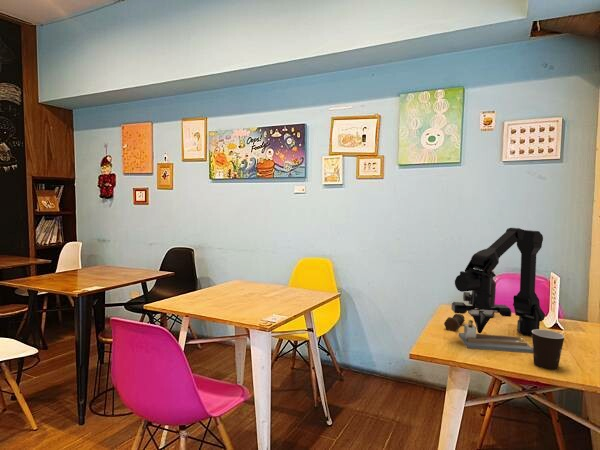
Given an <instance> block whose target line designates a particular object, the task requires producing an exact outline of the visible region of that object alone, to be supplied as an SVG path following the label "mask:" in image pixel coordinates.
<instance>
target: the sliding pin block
mask: <svg viewBox="0 0 600 450" xmlns="http://www.w3.org/2000/svg"><path fill="white" fill-rule="evenodd" d="M473 322H474V320H471V319H469V320H468V323H467V324H464V326H463V328H464V329H463V333H464V337H465V338H466V340H468V338H472V339H476V334H477V328H476V325H474V324H473Z"/></svg>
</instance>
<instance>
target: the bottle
mask: <svg viewBox="0 0 600 450" xmlns="http://www.w3.org/2000/svg"><path fill="white" fill-rule="evenodd" d="M482 271H483V270H482ZM492 272H493V273H494V274H495V271H494V270H493V271H492ZM496 286H497V283H496V281H495V280H494V277H491V297H490V306H491V307H494V306H495V304H496V290H497V289H496ZM479 315H480V312H479ZM492 315H493V316H494V317H495V313H494V312H493V314H492Z"/></svg>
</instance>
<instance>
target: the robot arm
mask: <svg viewBox="0 0 600 450" xmlns="http://www.w3.org/2000/svg"><path fill="white" fill-rule="evenodd" d="M543 241H544V235H543V234H542V233H541V231H540V230H539V231H538V230H531V229H530V230H529V229H522V228H519V227H509V228H506V231H505V232H504V233H503V234H502V235H501V236H499V237H498V238H497V239H496V240H495V241H494V242H493V243H492V244H491V245H489V246H488V247H487V248H484V249H481V250H479V251H477V252H476V253H474V254H473V255H472V256H471V258H470V260H469V262H468V264H467V265H466V267H465V269H464V271H463V270H462V271H460V272H459V275H457V276H456V277H455V279H454V285H455V286H454V287H455V288H456V290H458V291H459V292H461V293H463V295H462V299H463V301H464V302H468V305H467V304H465V303H464V302H462V301H461V302H459V301H453V302H452V303H451V310H452V312H453V313H455V314H461V315H464V314H466V313H468V314H469V316H470V317H472V318H473V322H474V324H475V327H476V332H477V334H482V332H483V330H484V329H485V327H486V325H487V323H488V322H489V321H490V320H491V319H493V318H495V315H494V316H493V315H492V314H493V312H494V314H495V313H497V314H499V315H500V316H501V317H508V318H509V317H512V309H511V308H510V307H509V306H507V305H506V304H498V303H497V304H496V303H495V306H494V307H491V306H490V297H491V277H493V278H495V277H497V275H496V274H495V272H494V273H493V272H492V271H494V270H495V268H496V267H497V266H498V264H499V262H500V261H499V260H500V258H501V257H502V256H503V255H504V254H505V253H507V251H508V250H509V249H510V248H512V247H513V246H514V245H515V244H516V246H517V249H518V251H519V252H520V277H519V280H520V281H519V291H518V293H516V294H514V295H513V297H512V298H513V303H512V307H513V309H514V310H513V311H514V314H515V316H517V317H518V320H517V322H516V323H517V326H516V327H517V328H516V331H517V332H518V333H520V334H521V336H525V337H526V336H527V337H528V336H530V337H532V330H536V329H540V326H541V325H540V322H543V321H544V320H545V317H546V313H545V312H544V311H543V309H542V308H541V304H540V299H539V297H538V295H537V293H536V276H537V275H536V271H537V254H538V253H539V251H540V250H541V249H542V247H543V246H542V245H543ZM482 270H483V271H482ZM479 312H480V315H479Z"/></svg>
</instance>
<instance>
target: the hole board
mask: <svg viewBox="0 0 600 450" xmlns="http://www.w3.org/2000/svg"><path fill="white" fill-rule="evenodd" d="M458 337H459V338H460V340H461V341H462V343H463V344H464V345H465V347H466V348H467V349H473V350H484V351H485V350H486V351H489V350H490V351H502V352H511V353H512V352H513V353H514V352H515V353H525V354H526V353H527V354H529V353H530V354H533V346H532V347H531V345H529V344H528V342H526V341H525V342H519V337H520V336H515V335H499V334H488V333H487V334H484V333H476V339H472V338H468V340H466V338H465V337H464V332H458Z"/></svg>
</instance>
